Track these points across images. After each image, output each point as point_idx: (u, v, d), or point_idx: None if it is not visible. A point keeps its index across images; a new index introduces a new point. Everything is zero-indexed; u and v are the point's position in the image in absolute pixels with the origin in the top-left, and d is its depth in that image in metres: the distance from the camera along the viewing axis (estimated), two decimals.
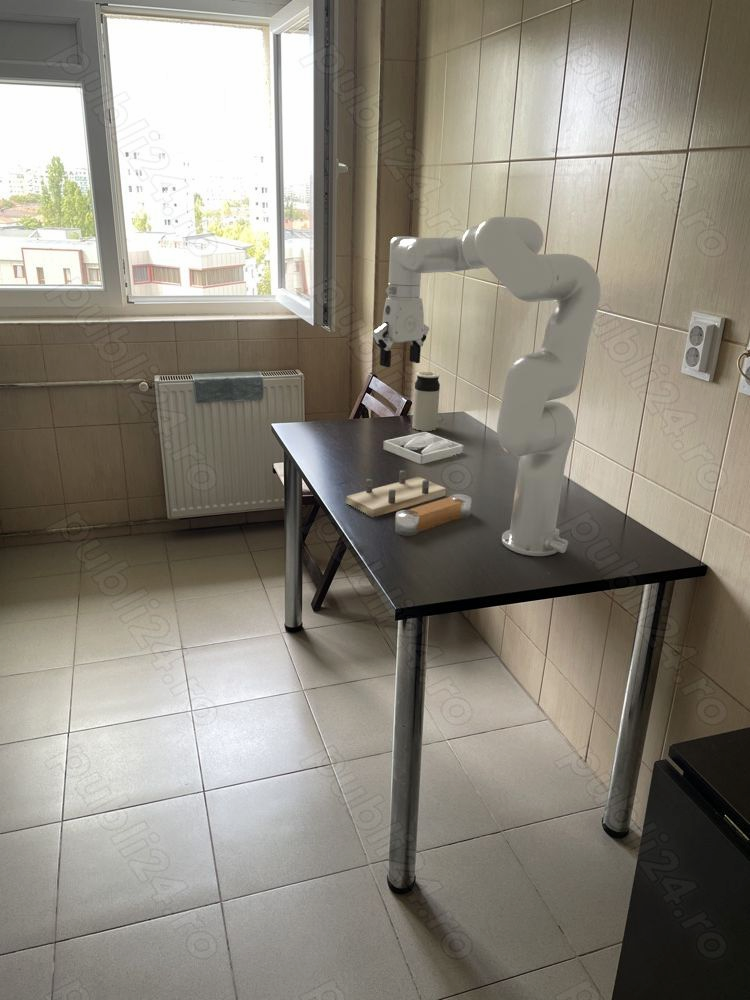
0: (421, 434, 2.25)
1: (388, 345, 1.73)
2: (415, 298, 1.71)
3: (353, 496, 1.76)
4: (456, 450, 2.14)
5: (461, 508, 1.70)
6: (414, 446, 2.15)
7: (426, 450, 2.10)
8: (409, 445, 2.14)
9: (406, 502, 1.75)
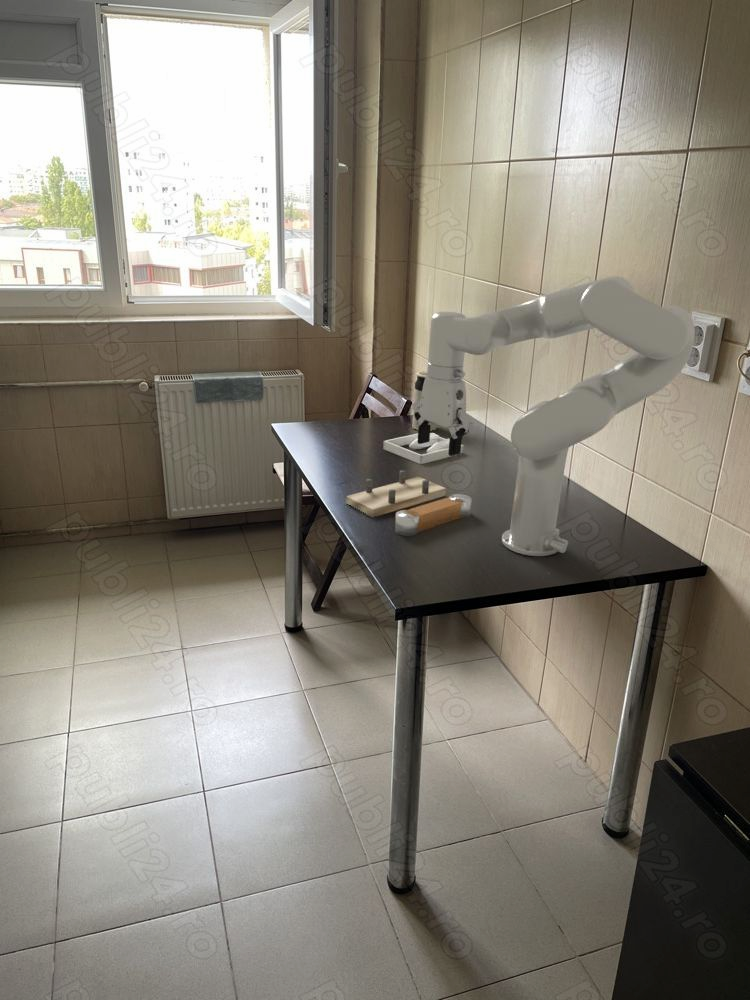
0: None
1: None
2: None
3: (353, 496, 1.76)
4: None
5: (461, 507, 1.70)
6: (419, 445, 2.16)
7: (431, 449, 2.11)
8: (414, 444, 2.15)
9: (406, 502, 1.75)
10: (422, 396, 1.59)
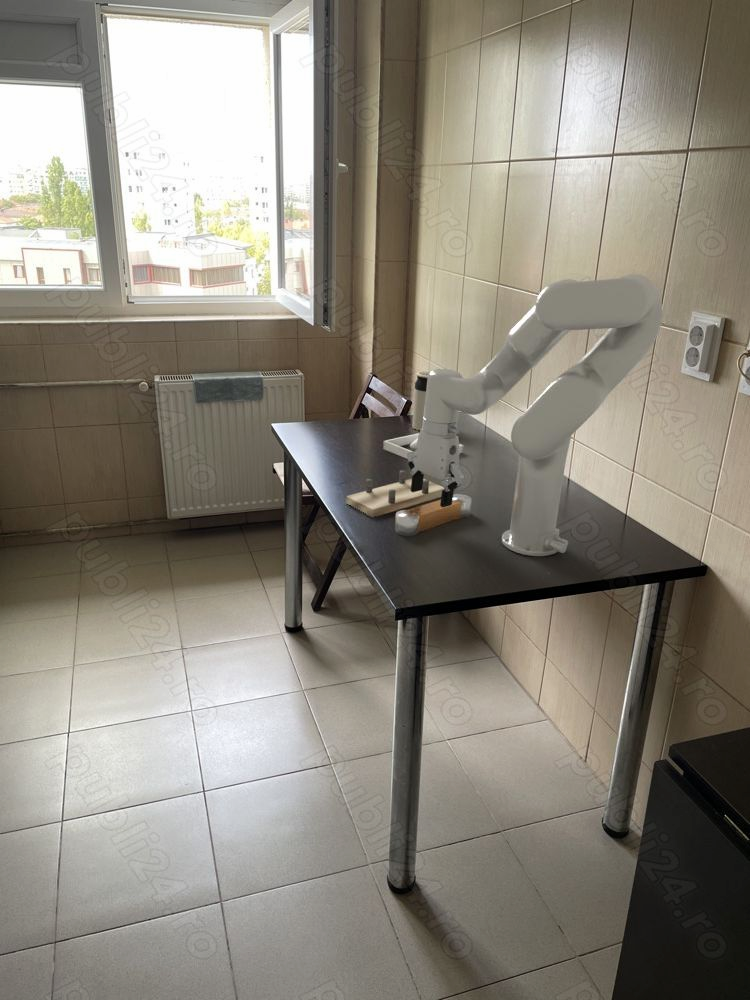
0: None
1: None
2: None
3: (353, 496, 1.76)
4: None
5: (461, 508, 1.70)
6: None
7: None
8: (415, 444, 2.15)
9: (406, 502, 1.75)
10: (416, 448, 1.64)
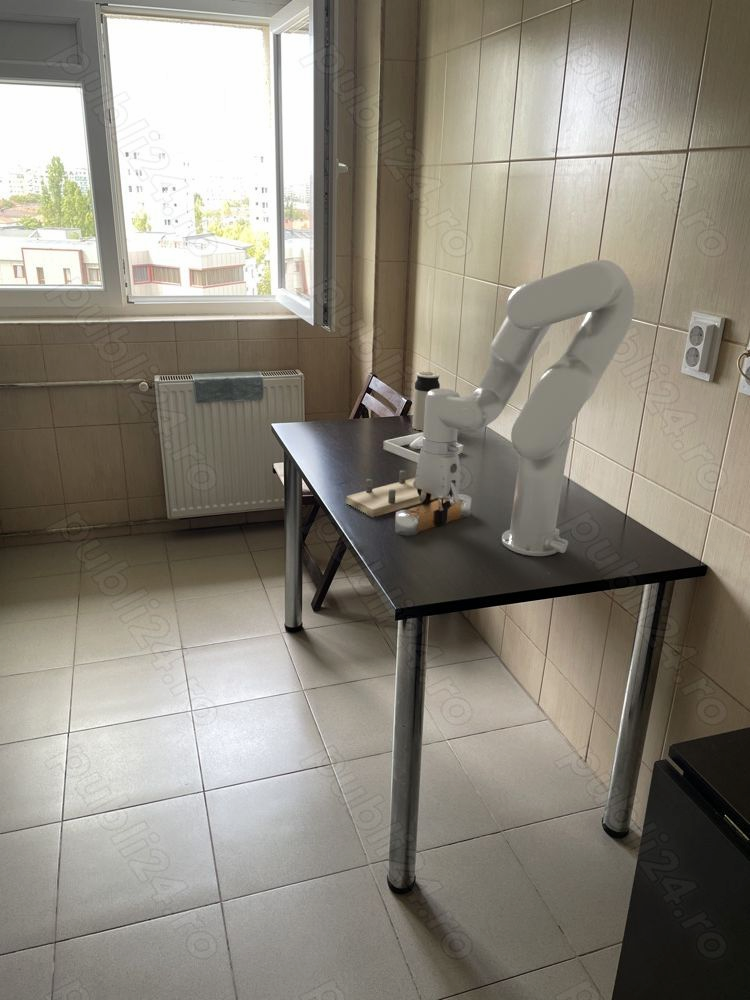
0: (421, 434, 2.25)
1: None
2: None
3: (353, 496, 1.76)
4: None
5: (461, 507, 1.70)
6: (419, 445, 2.17)
7: None
8: (414, 444, 2.16)
9: (406, 502, 1.75)
10: (418, 467, 1.65)
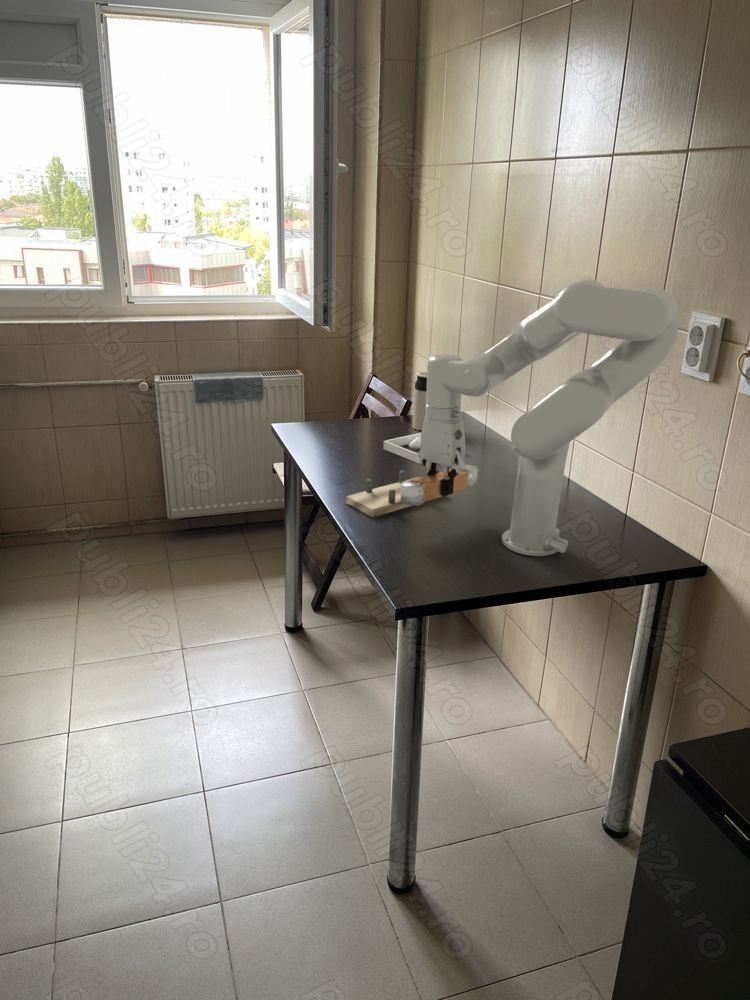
0: None
1: None
2: None
3: (353, 496, 1.76)
4: None
5: (467, 477, 1.67)
6: (419, 445, 2.17)
7: None
8: (414, 444, 2.16)
9: None
10: (422, 436, 1.62)
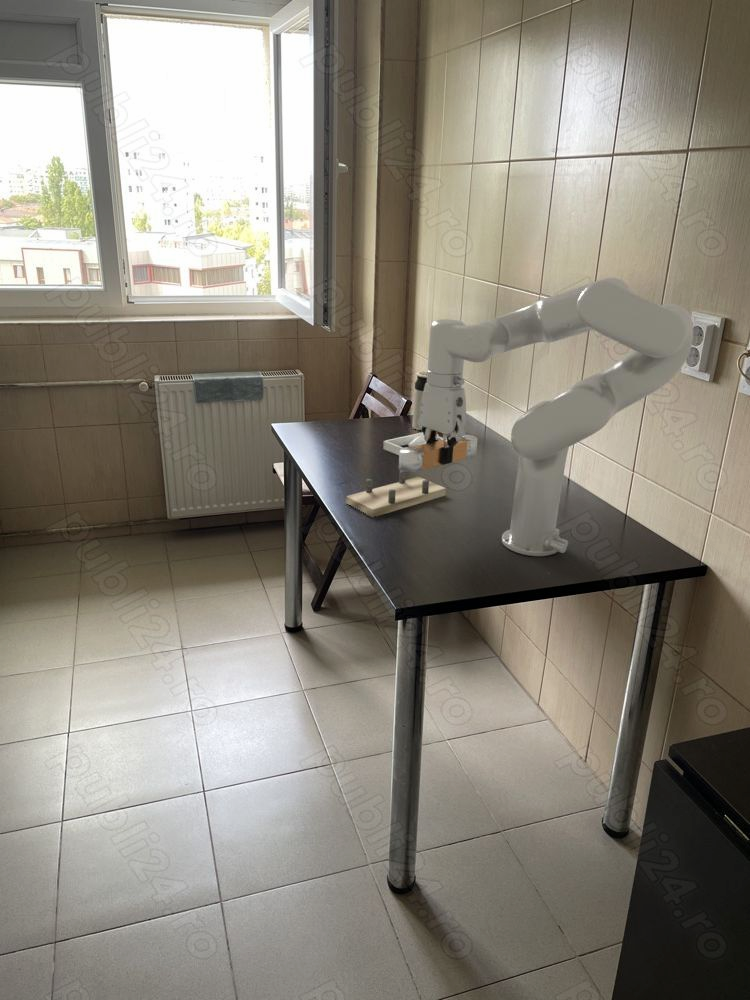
0: (421, 434, 2.25)
1: None
2: None
3: (353, 496, 1.76)
4: None
5: (467, 447, 1.65)
6: (418, 444, 2.17)
7: None
8: (414, 443, 2.16)
9: (406, 502, 1.75)
10: (422, 403, 1.60)
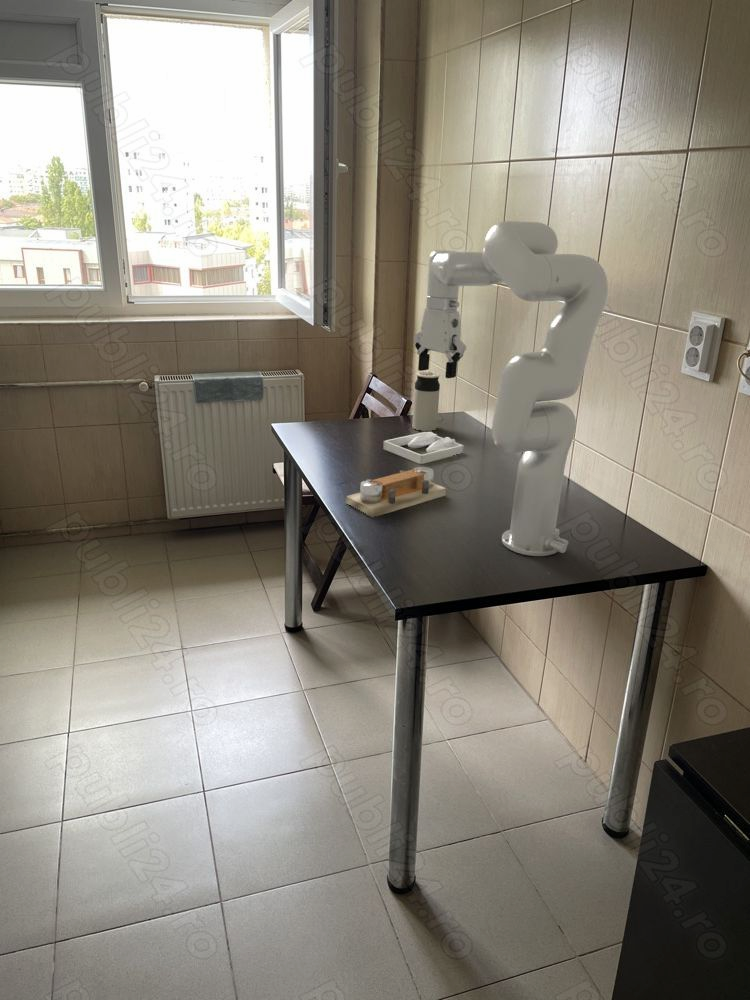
0: (421, 434, 2.25)
1: None
2: None
3: (353, 496, 1.76)
4: (456, 450, 2.14)
5: (423, 479, 1.81)
6: (418, 444, 2.17)
7: (431, 448, 2.12)
8: (413, 443, 2.16)
9: (406, 502, 1.75)
10: (422, 327, 1.82)
